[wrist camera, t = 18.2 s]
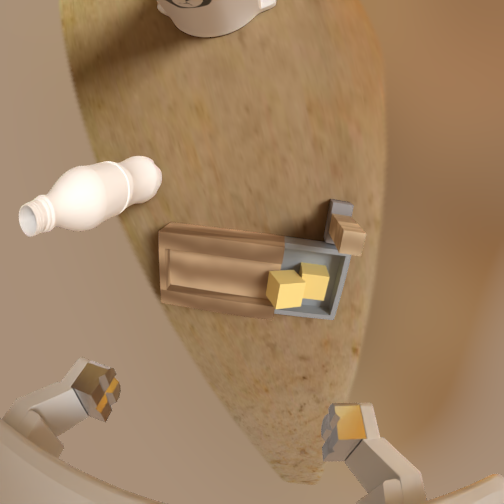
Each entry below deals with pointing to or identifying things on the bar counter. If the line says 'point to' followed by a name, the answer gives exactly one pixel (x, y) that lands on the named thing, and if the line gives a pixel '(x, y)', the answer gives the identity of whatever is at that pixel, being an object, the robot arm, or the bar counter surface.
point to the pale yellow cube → (314, 280)
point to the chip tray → (320, 255)
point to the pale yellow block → (285, 289)
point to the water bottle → (91, 195)
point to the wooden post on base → (343, 229)
